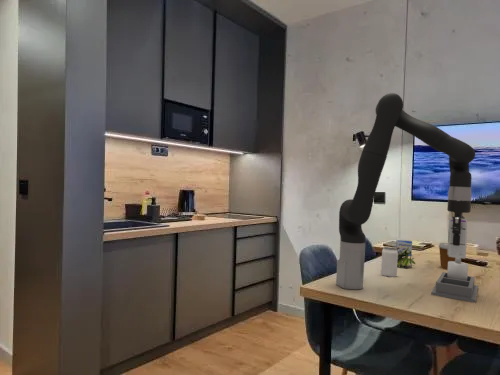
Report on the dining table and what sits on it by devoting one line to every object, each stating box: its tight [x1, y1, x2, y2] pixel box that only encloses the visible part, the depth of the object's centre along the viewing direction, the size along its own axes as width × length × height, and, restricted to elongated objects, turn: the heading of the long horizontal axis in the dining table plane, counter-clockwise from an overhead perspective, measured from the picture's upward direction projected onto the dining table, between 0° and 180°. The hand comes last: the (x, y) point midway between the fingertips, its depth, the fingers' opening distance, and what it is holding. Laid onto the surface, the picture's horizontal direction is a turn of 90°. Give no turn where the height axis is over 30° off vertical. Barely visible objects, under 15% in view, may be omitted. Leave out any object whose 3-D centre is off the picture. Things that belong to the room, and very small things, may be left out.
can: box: [380, 246, 398, 278], centre depth 166 cm, size 6×6×12 cm
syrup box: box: [447, 216, 468, 259], centre depth 140 cm, size 6×6×14 cm
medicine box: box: [395, 239, 413, 257], centre depth 219 cm, size 8×4×9 cm, turn 81°
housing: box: [430, 258, 479, 304], centre depth 145 cm, size 24×14×12 cm, turn 147°
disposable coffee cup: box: [438, 242, 455, 270], centre depth 187 cm, size 10×10×12 cm
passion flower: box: [395, 247, 416, 269], centre depth 187 cm, size 11×11×12 cm
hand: (456, 244), depth 140 cm, fingers closed on syrup box, 6 cm apart
